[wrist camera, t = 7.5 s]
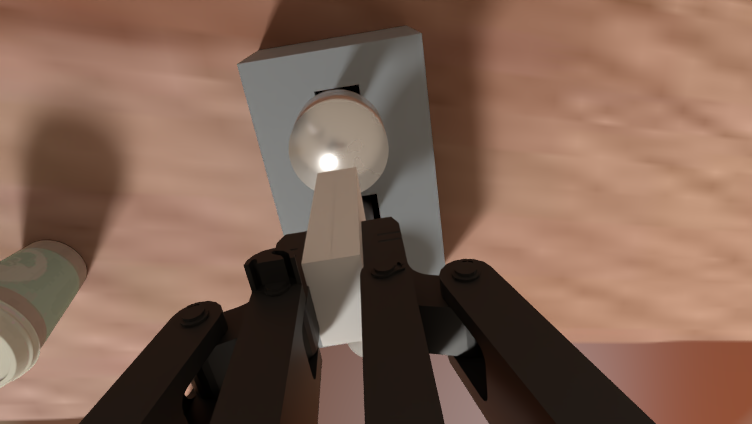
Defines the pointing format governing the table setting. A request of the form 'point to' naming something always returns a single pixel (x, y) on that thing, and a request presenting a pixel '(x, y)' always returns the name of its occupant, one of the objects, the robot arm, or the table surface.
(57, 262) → the coffee cup
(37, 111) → the table surface
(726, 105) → the table surface
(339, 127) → the knob
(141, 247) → the table surface
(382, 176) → the console
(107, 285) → the table surface
